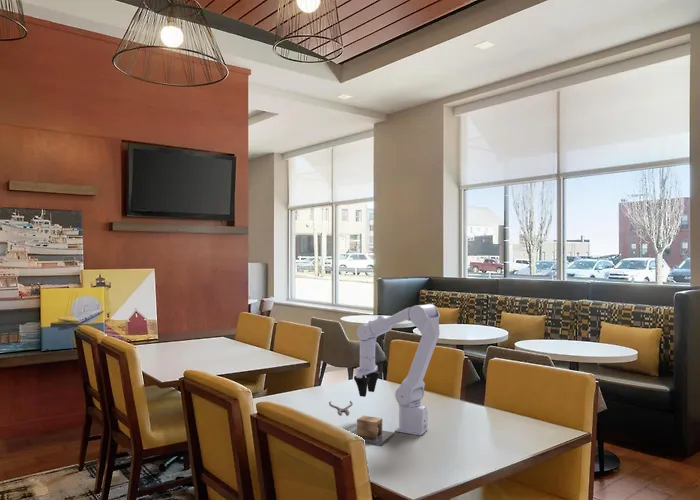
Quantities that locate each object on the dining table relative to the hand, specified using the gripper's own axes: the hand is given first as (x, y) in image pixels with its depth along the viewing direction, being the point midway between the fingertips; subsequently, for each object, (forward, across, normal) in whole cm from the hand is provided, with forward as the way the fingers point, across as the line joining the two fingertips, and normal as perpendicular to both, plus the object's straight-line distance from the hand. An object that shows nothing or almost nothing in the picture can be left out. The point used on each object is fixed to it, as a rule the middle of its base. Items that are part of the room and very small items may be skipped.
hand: (367, 393), depth 197 cm
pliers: (+10, -10, -14) cm, 20 cm away
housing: (+8, +17, +9) cm, 21 cm away
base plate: (+9, +17, +9) cm, 21 cm away
